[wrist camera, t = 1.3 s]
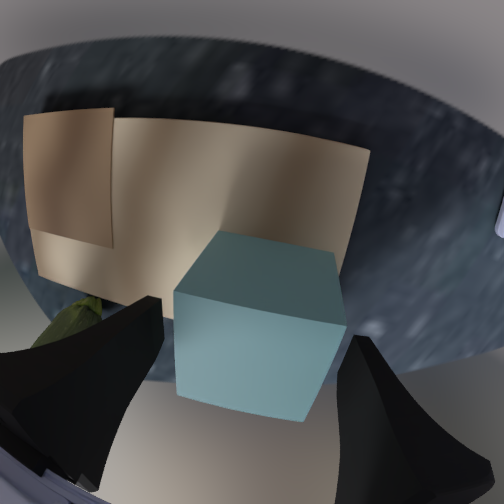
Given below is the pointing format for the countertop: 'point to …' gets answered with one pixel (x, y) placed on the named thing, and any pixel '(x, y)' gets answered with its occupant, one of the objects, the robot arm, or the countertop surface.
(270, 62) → the countertop surface
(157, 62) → the countertop surface
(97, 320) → the vegetable
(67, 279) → the maple board
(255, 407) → the teal block
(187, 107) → the countertop surface
